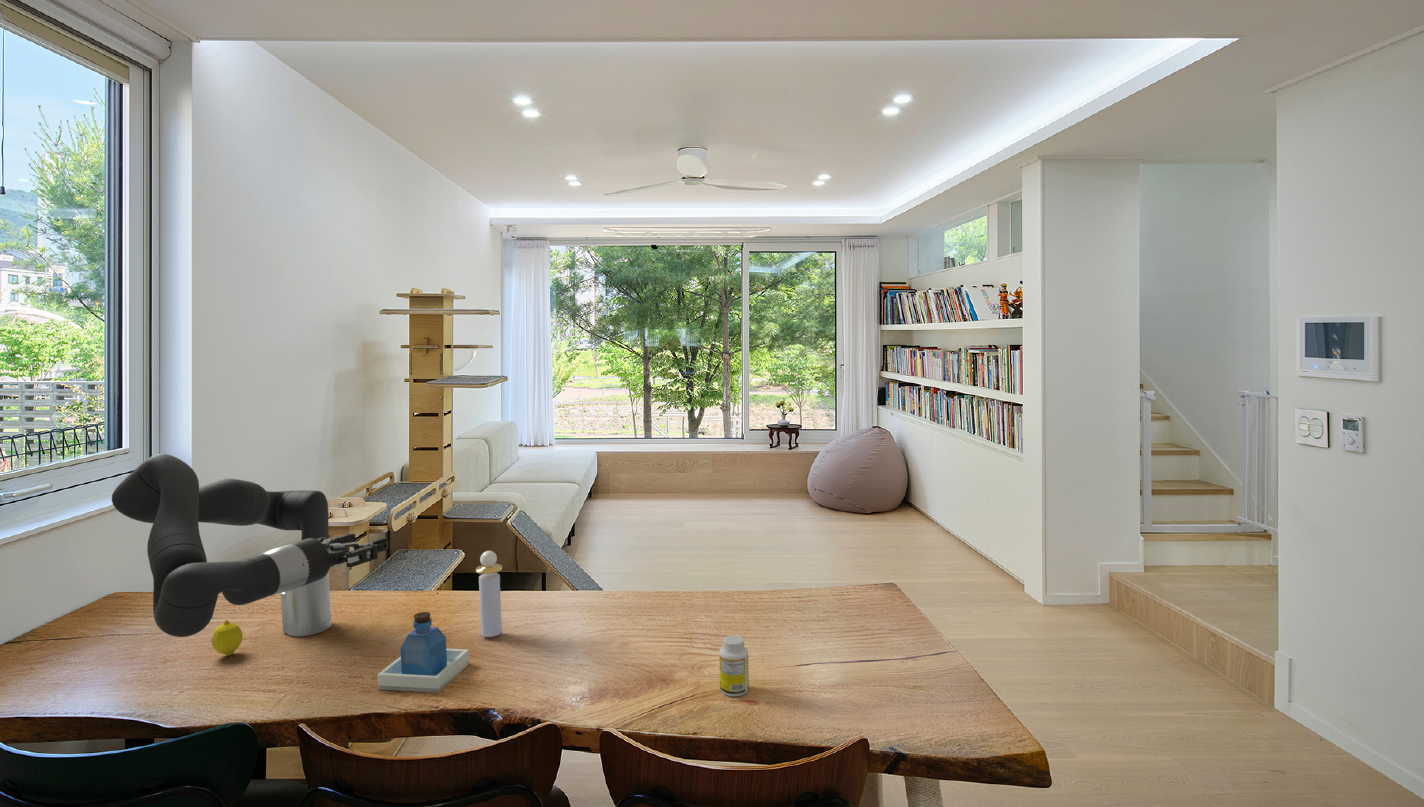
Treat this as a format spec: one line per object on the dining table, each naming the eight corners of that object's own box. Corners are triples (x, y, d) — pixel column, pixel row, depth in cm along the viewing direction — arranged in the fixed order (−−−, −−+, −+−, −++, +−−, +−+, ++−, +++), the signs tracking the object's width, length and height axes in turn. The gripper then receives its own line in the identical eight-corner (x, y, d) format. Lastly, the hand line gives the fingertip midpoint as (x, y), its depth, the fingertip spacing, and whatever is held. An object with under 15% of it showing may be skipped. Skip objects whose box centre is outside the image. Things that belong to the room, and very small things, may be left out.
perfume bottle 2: (492, 643, 160) (489, 556, 158) (473, 638, 162) (469, 553, 160) (510, 633, 165) (506, 549, 163) (490, 629, 168) (487, 546, 166)
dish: (378, 689, 139) (377, 674, 139) (413, 660, 152) (412, 646, 151) (438, 692, 138) (437, 678, 137) (469, 663, 150) (468, 649, 150)
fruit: (206, 659, 153) (204, 623, 153) (232, 648, 159) (229, 613, 158) (225, 663, 152) (222, 626, 151) (249, 652, 157) (247, 616, 156)
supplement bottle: (731, 680, 141) (731, 631, 140) (754, 689, 138) (754, 638, 137) (713, 691, 137) (713, 640, 136) (736, 701, 133) (736, 648, 132)
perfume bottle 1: (447, 666, 147) (444, 609, 146) (430, 680, 141) (427, 621, 140) (419, 664, 148) (416, 608, 147) (402, 678, 142) (399, 620, 141)
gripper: (319, 549, 118) (397, 524, 132) (261, 540, 123) (342, 518, 138) (322, 593, 118) (399, 564, 133) (264, 582, 124) (344, 556, 139)
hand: (370, 540), depth 136 cm, fingers open, 8 cm apart
